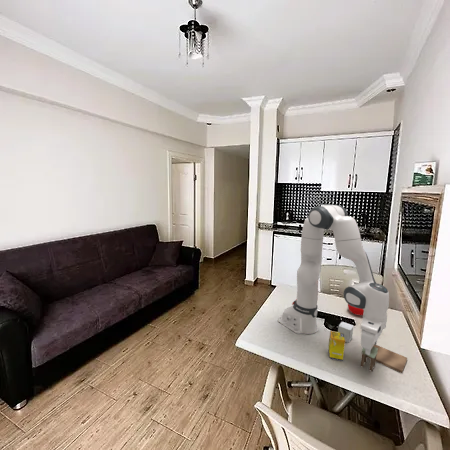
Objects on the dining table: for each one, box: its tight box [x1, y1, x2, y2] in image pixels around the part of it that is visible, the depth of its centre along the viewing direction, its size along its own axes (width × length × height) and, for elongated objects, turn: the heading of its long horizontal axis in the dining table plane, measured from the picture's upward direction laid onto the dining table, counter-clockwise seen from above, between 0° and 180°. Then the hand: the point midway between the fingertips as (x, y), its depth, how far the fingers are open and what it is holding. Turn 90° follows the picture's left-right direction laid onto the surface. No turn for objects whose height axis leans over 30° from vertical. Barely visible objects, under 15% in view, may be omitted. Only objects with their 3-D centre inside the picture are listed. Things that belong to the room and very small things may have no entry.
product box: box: [337, 321, 354, 344], centre depth 133 cm, size 6×6×7 cm
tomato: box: [347, 303, 364, 316], centre depth 159 cm, size 11×12×10 cm
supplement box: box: [327, 330, 346, 362], centre depth 119 cm, size 6×6×11 cm
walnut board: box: [367, 344, 408, 374], centre depth 119 cm, size 14×12×1 cm
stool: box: [360, 346, 378, 372], centre depth 113 cm, size 5×5×9 cm
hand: (371, 348), depth 112 cm, fingers open, 8 cm apart
